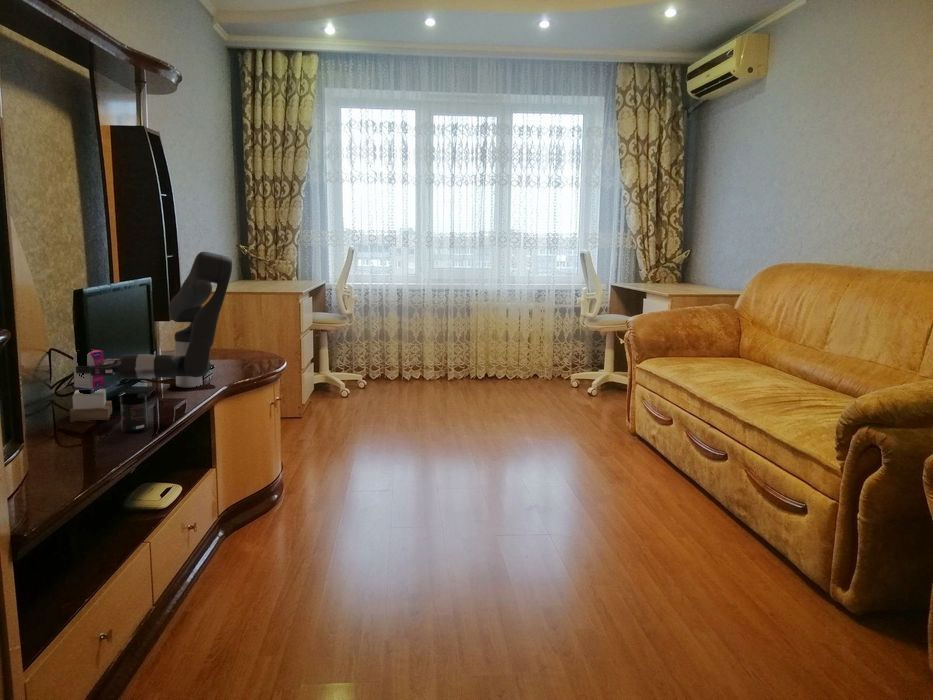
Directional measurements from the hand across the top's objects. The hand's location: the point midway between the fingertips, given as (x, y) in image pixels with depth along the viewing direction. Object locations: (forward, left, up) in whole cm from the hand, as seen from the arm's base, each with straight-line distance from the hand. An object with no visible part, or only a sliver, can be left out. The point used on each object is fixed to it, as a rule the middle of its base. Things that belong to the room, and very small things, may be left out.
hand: (81, 366), depth 191 cm
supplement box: (0, +2, -7) cm, 7 cm away
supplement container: (+18, +15, -16) cm, 29 cm away
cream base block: (0, +2, -16) cm, 16 cm away
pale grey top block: (0, +2, -12) cm, 12 cm away
